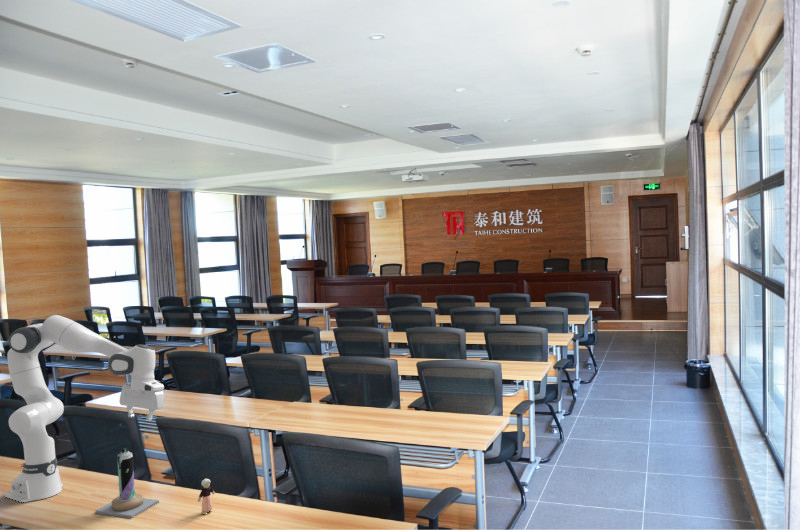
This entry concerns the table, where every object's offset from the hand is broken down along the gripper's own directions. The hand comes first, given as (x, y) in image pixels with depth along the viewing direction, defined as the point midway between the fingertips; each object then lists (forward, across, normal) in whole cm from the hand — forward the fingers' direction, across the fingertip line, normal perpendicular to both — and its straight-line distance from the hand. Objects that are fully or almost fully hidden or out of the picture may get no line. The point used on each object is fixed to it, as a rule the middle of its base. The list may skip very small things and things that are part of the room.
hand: (140, 418), depth 247 cm
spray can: (+29, +6, -10) cm, 31 cm away
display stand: (+32, +6, -9) cm, 34 cm away
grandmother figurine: (+30, +40, -4) cm, 50 cm away
